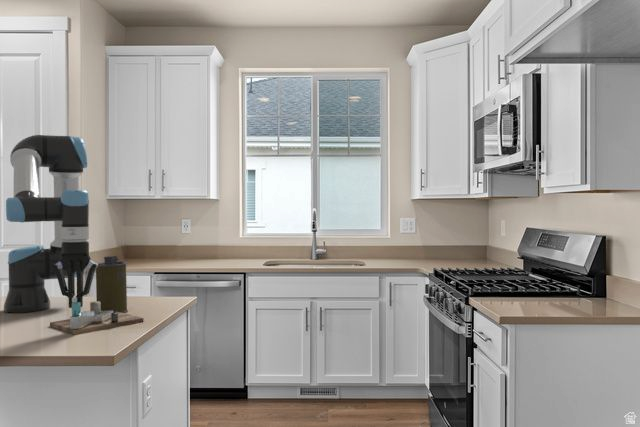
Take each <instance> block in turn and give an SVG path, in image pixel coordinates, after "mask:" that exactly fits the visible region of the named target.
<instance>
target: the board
mask: <svg viewBox="0 0 640 427" xmlns="http://www.w3.org/2000/svg"><path fill="white" fill-rule="evenodd" d="M89 304H90V305H89V306H90V308H89V309H90V310H89V311H94V315H100V314H101V306H100V301H97V300H95V301H91V302H89ZM113 313H118V322H116V323H111V318H110V319H108V320H105V321H103V322H93V323H91V324H89V325H87V326H85V327H82V328H80V329H70V318H69V319H62V320H61V319H60V320H56V321H50V322H49V326H50V327H51V328H54V329H58V330H61V331H63V332H66V333H70V334H73V335H79V334H83V333H90V332H94V331H95V332H96V331H99V330H107V329H111V328H117V327H121V326H127V325H132V323H133V324H136V323H137V322H139V323H142V322H141V321H145V320H144V317H143V316H142V317H141V316H137V315H133V314H129V313H126V312H125V313H121V312H117V311H116V312H113Z"/></svg>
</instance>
